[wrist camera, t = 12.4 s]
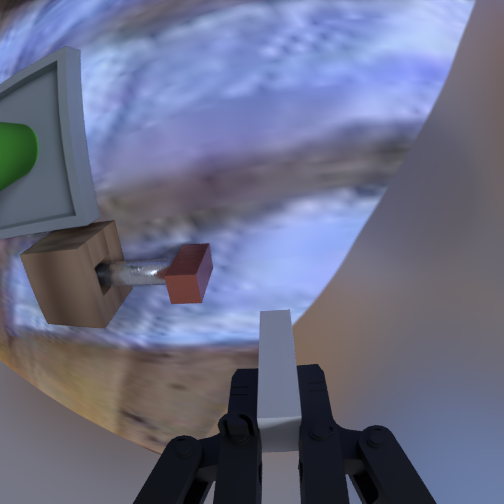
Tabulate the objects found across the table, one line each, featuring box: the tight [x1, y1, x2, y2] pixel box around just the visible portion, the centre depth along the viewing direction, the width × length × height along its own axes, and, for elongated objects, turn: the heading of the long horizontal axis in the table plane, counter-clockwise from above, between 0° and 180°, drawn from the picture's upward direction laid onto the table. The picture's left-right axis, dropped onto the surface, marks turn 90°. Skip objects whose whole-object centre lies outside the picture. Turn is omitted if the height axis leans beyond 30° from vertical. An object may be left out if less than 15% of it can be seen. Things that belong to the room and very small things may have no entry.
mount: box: [20, 220, 132, 328], centre depth 23 cm, size 7×7×6 cm
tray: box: [0, 46, 100, 239], centre depth 20 cm, size 16×16×2 cm
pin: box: [94, 243, 213, 304], centre depth 22 cm, size 10×2×5 cm, turn 95°
